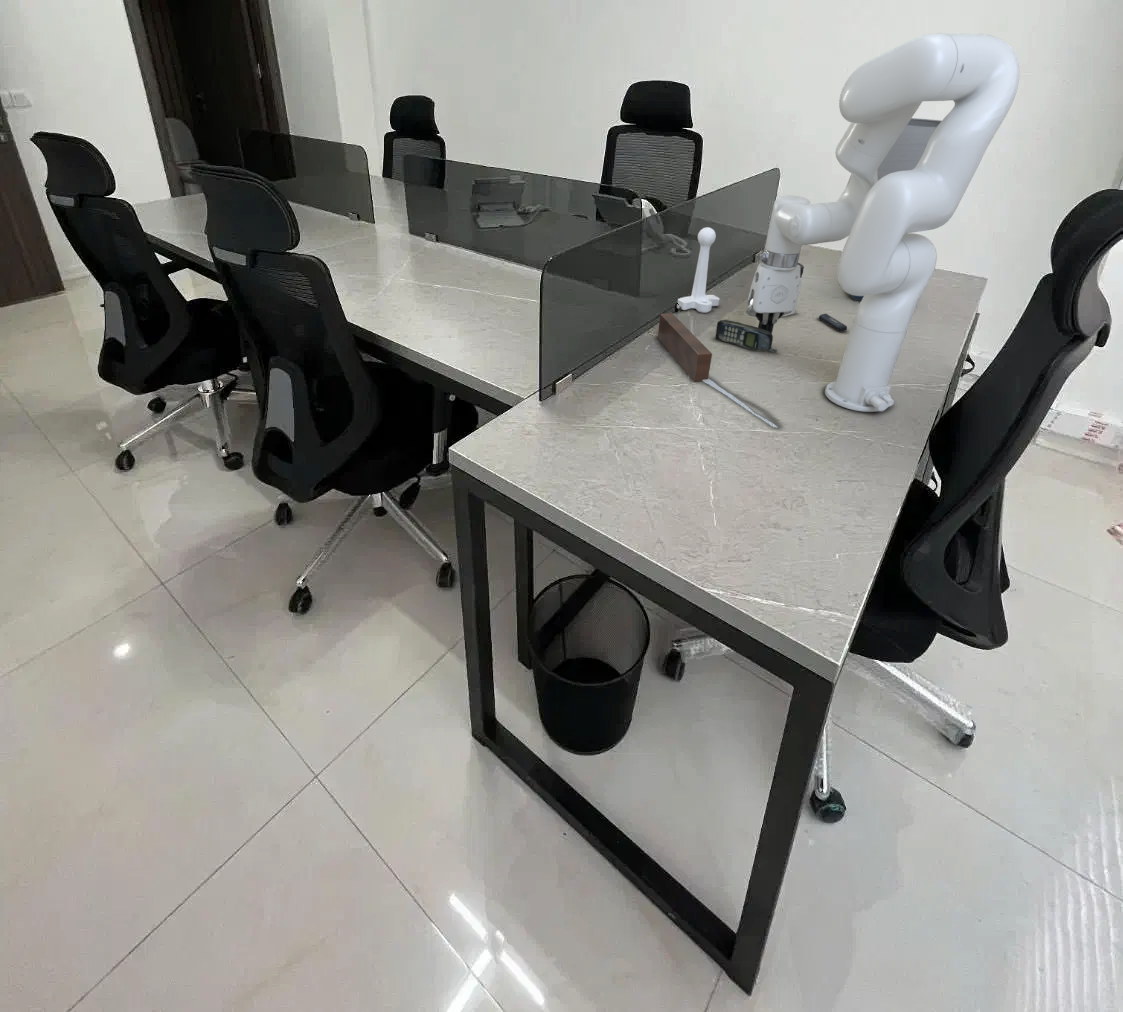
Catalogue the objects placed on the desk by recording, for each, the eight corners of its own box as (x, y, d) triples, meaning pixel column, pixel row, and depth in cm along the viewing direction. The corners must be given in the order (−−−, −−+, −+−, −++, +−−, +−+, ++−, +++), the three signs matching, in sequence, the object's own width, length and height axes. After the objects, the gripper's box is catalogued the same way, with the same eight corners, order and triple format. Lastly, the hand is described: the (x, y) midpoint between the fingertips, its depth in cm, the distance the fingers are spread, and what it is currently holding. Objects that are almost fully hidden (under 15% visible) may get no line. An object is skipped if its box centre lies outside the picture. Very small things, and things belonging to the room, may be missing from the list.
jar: (777, 318, 169) (788, 271, 162) (754, 309, 174) (763, 263, 167) (800, 312, 173) (812, 266, 166) (777, 303, 178) (787, 258, 171)
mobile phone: (715, 320, 153) (776, 335, 146) (721, 316, 155) (782, 331, 148) (713, 341, 156) (772, 356, 149) (719, 336, 158) (778, 351, 151)
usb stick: (817, 319, 169) (818, 313, 168) (826, 318, 170) (827, 312, 169) (838, 332, 162) (839, 326, 161) (847, 331, 162) (849, 325, 161)
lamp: (821, 308, 176) (869, 125, 151) (815, 280, 196) (856, 114, 171) (921, 317, 172) (988, 131, 146) (904, 288, 191) (960, 119, 166)
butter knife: (699, 368, 142) (688, 370, 141) (784, 425, 123) (772, 428, 122) (699, 371, 143) (688, 372, 141) (783, 428, 123) (771, 430, 122)
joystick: (709, 301, 178) (722, 223, 167) (725, 310, 173) (738, 231, 161) (674, 306, 175) (684, 227, 163) (688, 315, 169) (700, 234, 157)
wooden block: (707, 380, 138) (712, 353, 135) (694, 381, 138) (698, 354, 134) (669, 337, 157) (672, 313, 153) (657, 338, 156) (660, 313, 153)
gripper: (756, 264, 138) (740, 346, 149) (820, 262, 141) (799, 343, 152) (741, 254, 144) (727, 334, 155) (803, 252, 147) (784, 331, 158)
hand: (763, 338), depth 154 cm, fingers closed
